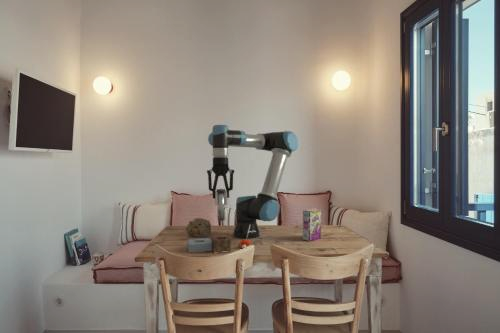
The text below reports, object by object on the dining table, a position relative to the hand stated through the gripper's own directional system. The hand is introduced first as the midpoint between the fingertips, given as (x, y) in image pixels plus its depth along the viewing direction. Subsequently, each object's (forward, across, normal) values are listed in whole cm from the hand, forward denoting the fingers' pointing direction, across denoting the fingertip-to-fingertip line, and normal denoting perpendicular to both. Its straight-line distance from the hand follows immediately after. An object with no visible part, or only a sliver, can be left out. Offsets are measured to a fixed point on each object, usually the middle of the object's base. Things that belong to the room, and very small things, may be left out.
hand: (220, 204), depth 166 cm
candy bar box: (+23, +52, +9) cm, 58 cm away
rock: (+23, -7, +40) cm, 46 cm away
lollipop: (+23, +13, +1) cm, 26 cm away
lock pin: (+7, 0, 0) cm, 7 cm away
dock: (+22, -10, +5) cm, 25 cm away
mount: (+22, 0, 0) cm, 22 cm away
